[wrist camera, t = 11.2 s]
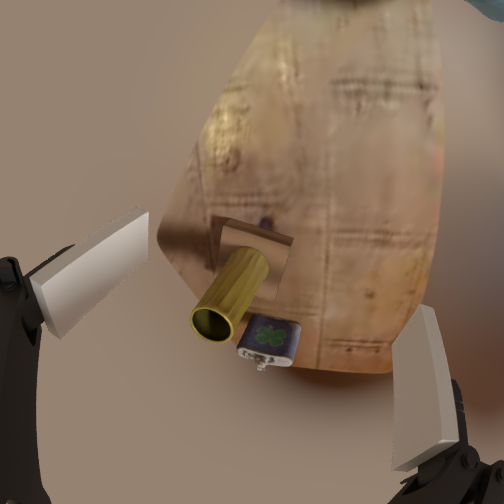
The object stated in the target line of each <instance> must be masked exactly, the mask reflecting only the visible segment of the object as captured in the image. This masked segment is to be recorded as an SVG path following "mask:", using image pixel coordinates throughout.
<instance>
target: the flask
mask: <svg viewBox="0 0 504 504" xmlns="http://www.w3.org/2000/svg"><path fill="white" fill-rule="evenodd" d="M300 332H301V324H299V323H297V322H295V321H292V320H291V321H287V320H284V319H281V318H274V319H273V318H271V317H266V316H264V315H260V314H255V315H252V317H251V319H250V321H249V323H248V325H247V327H246V329H245V331H244V334H243V335H242V338H241V339H240V341H239V344H238V345H237V353H238V354H239V355H240V356H242V357H244V358H248V359H250V360H253V361H255V363H257V364H259V365H258V366H257V367H261V368H265V366H266V365H268V364H270V365H277V366H290V365H292V363H293V360H294V356H295V352H296V348H297V344H298V341H299V336H300ZM257 369H258V370H260V371H261V370H262V369H260V368H257ZM264 370H265V369H264Z"/></svg>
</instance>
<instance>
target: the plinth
mask: <svg viewBox="0 0 504 504" xmlns="http://www.w3.org/2000/svg"><path fill="white" fill-rule="evenodd" d="M293 240H294V238H291V237H288V236H285V235H282V234H279V233H276V232H273V231H270V230H266V229H263V228H260V227H257V226H254V225H251V224H248V223H244V222H241V221H238V220H235V219H231V218H230V219H229V220H228V221H227V222H226V223H225V224H224V225H223V229H222V235H221V241H220V247H219V252H218V258H217V264H216V270H215V277H214V280H215V278H216V277H217V275H218V274H219V273H220V271H221V270H222V268H223V267H224V265H225V264H226V262H227V261H228V259H229V258H230V256H231V254H232V253H233V252H234V251H235V250H237V249H239V248H243V247H249V248H253V249H256V250H257V251H259V252H260V253H262V254H263V256H264V257H265V258H266V260H267V262H268V267H269V270H268V274H267V276H266V278H265V279H264V280H263V283H262V284H261V286H260V288H259V289H258V291H257V292H256V294H255V295H254V296H257V297H260V298H263V299H266V300H268V301H271V302H273V301H274V298H275V296H276V293H277V291H278V287H279V284H280V281H281V278H282V275H283V272H284V269H285V266H286V262H287V259H288V256H289V253H290V250H291V246H292V243H293Z"/></svg>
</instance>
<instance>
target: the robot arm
mask: <svg viewBox="0 0 504 504" xmlns="http://www.w3.org/2000/svg"><path fill="white" fill-rule="evenodd" d="M465 1H467V2H469V3H470V4H471V5H472V6H474V7H475V8H476V9H477V10H479V11H480V12H481V13H482V14H483V15H485V16H486V17H488V18H490V19H492V20H495V21H499V22H504V0H465ZM148 216H149V211H146V210H143V209H140V208H134V209H133V210H131V211H129V212H127V213H126V214H124V215H122V216H121V217H119V218H117V219H116V220H114V221H112V222H111V223H109V224H108V225H106V226H104V227H103V228H101V229H99V230H98V231H96V232H95V233H93V234H91V235H90V236H88V237H87V238H86V239H84V240H82V241H81V242H79V243H78V244H76V245H75V244H74V245H71V246H68V247H65V248H63V249H62V250H60V251H59V252H57V253H56V254H55V255H53V256H51V257H50V258H48V260H46V261H44V262H43V263H41V264H40V265H39V266H37V267H36V268H34V269H33V270H32V271H30V272H29V273H28V274H26V275H25V276H22V272H21V269H20V266H19V262H18V260H17V259H16V258H14V257H4V258H1V259H0V504H6V503H8V504H51V501H50V498H49V496H48V495H47V493H46V491H45V490H44V488H43V486H42V482H41V476H40V469H39V459H38V448H37V431H36V388H37V371H38V358H39V349H40V341H41V333H42V329H41V325H40V324H41V323H43V322H44V321H45V323H46V325H47V328H48V330H49V331H50V332H51V333H52V334H53V335H55V336H56V337H57V338H59V339H62V338H63V337H64V336H65V334H66V333H68V331H70V330H71V329H72V328H73V327H74V326H75V325H76V324H77V323H78V322H79V321H80V320H81V319H82V318H83V317H84V316H85V315H86V314H87V313H88V312H89V311H91V309H93V308H94V307H95V306H96V305H97V304H98V303H99V302H100V301H101V300H102V299H103V298H104V297H106V296H107V295H108V294H109V293H110V292H111V291H112V290H113V289H114V288H115V287H117V286H118V285H119V284H120V283H121V282H122V281H123V280H124V279H125V278H127V277H128V276H129V275H130V274H131V273H132V272H133V271H135V270H136V269H137V268H138V267H139V266H140V265H142V264H143V263H144V262H145V261H146V260H147V259H148ZM392 357H393V375H394V376H393V377H394V437H393V456H392V467H391V468H392V469H391V470H392V471H406V472H408V471H410V470H412V469H414V468H415V467H417V466H418V473H417V474H415V475H413V476H411V477H409V478H406V479H404V480H403V481H402V482H400V484H403V483H406V482H407V483H406V485H405V486H404V487H403V488H402V489H401V490H400V491H399V492H398V493H397V494H396V495H395V496H394V497H393V499H392V500H391V501H390V502H389V503H388V504H504V461H503V460H499V461H497V462H495V463H494V464H492V465H487V464H485V463H483V462H481V461H480V458H479V455H478V452H477V451H476V449H475V448H473V447H472V446H469V445H468V438H467V428H466V421H465V413H463V412H464V407H463V404H462V395H461V390H460V389H459V386H458V384H457V382H456V380H453V379H451V378H450V373H449V368H448V364H447V359H446V355H445V350H444V346H443V342H442V338H441V334H440V331H439V327H438V323H437V320H436V317H435V313H434V310H433V308H431V307H428V306H425V305H423V304H420V305H419V306H418V308H417V309H416V311H415V312H414V314H413V315H412V317H411V318H410V320H409V321H408V323H407V324H406V326H405V327H404V329H403V330H402V331H401V333H400V334H399V336H398V337H397V338H396V340H395V341H394V343H393V344H392Z"/></svg>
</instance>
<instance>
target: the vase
mask: <svg viewBox="0 0 504 504" xmlns="http://www.w3.org/2000/svg"><path fill="white" fill-rule="evenodd" d="M268 270H269V267H268V262H267V260H266V258H265V257H264V256H263V254H262V253H260V252H259V251H257V250H256V249H253V248H249V247H243V248H239V249H237V250H235V251H234V252H233V253H232V254H231V256H230V258H229V259H228V261H227V262H226V264H225V265H224V267H223V268H222V270H221V271H220V273H219V274H218V275H217V277H216V278H215V280H214V281H213V283H212V284H211V286H210V287H209V288H208V290H207V291H206V293H205V294H204V296H203V297H202V298H201V300H200V302H199V303H198V304H197V306H196V307H195V308H194V310H193V311H192V313H191V316H190V324H191V327H192V328H193V330H194V331H195V332H196V333H197V335H198V336H200V337H201V338H202V339H204V340H206V341H209V342H212V343H217V344H220V343H225V342H227V341H229V340H230V339H231V338H232V336H233V334H234V332H235V330H236V328H237V326H238V324H239V322H240V320H241V318H242V316H243V315H244V313H245V312H246V310H247V308H248V307H249V305H250V304H251V302H252V300H253V297H254V295H255V294H256V292H257V291H258V289H259V288H260V286H261V284H262V283H263V280H264V279H265V278H266V276H267V274H268Z"/></svg>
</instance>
